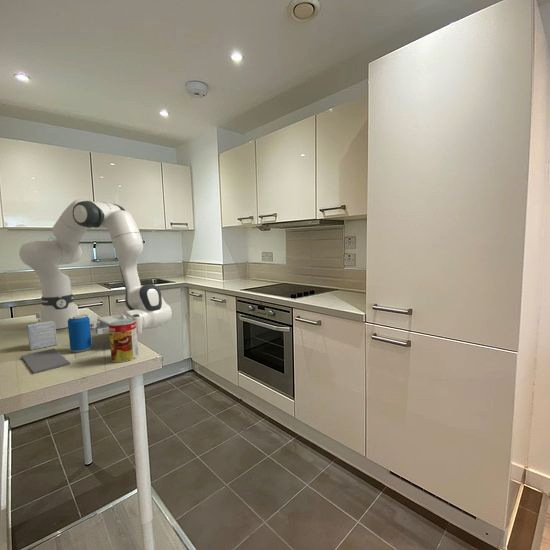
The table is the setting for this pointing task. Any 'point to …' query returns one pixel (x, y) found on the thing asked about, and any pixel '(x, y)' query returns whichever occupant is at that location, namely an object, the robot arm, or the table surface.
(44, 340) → the medicine box
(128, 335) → the canned food
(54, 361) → the charcoal mat
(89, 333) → the beverage can
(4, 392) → the table surface
